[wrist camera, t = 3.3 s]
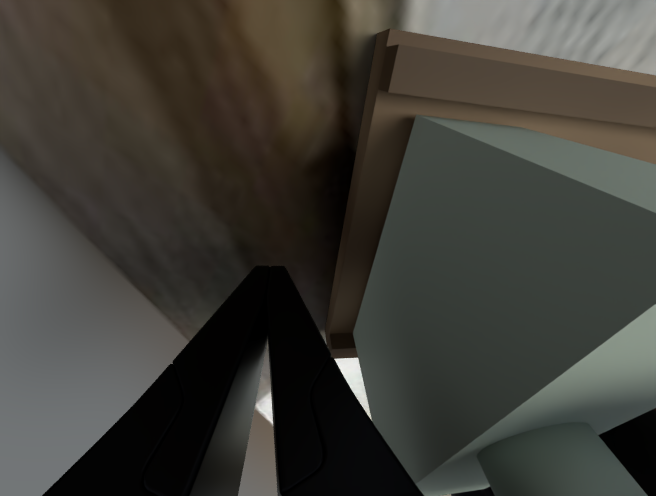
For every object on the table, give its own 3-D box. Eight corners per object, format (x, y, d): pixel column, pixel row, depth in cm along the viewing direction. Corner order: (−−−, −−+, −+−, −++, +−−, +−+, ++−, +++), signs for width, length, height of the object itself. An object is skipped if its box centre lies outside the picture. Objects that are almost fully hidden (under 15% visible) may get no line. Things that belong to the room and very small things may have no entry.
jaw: (413, 331, 12) (512, 551, 6) (352, 333, 11) (405, 572, 6) (520, 127, 7) (1517, 403, 1) (416, 114, 6) (1305, 477, 1)
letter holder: (505, 436, 31) (624, 645, 20) (526, 366, 19) (848, 783, 8) (589, 415, 30) (766, 627, 19) (666, 328, 18) (1269, 757, 7)
